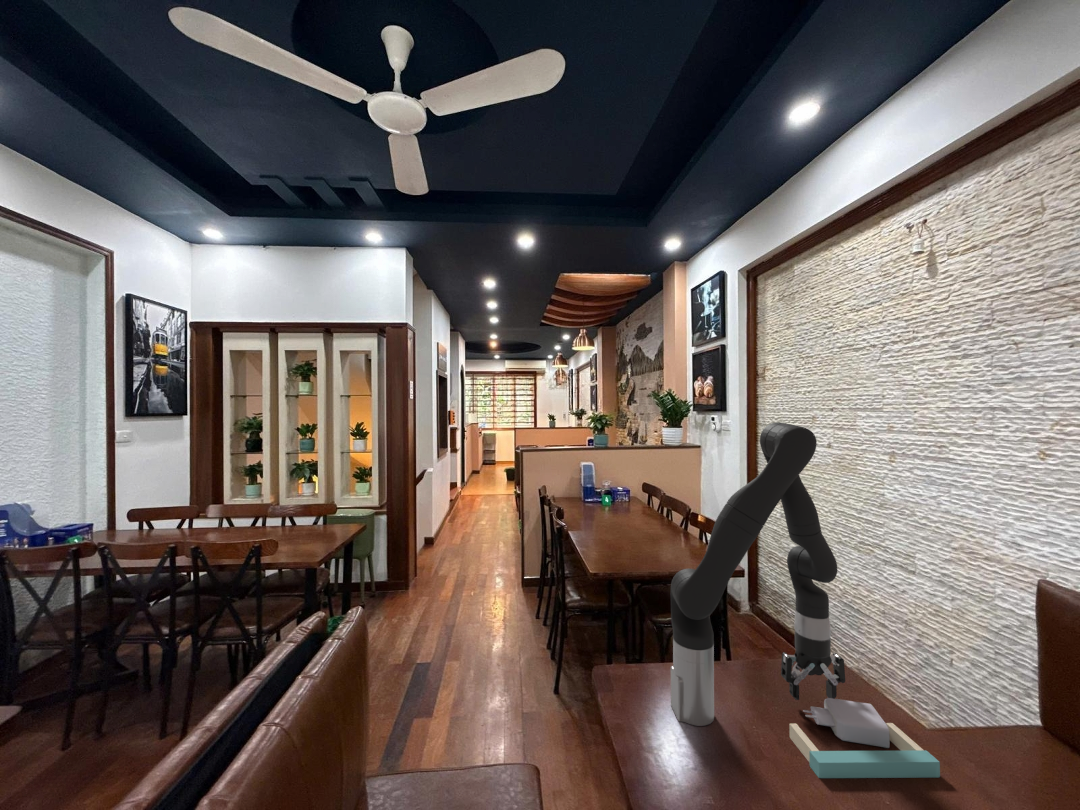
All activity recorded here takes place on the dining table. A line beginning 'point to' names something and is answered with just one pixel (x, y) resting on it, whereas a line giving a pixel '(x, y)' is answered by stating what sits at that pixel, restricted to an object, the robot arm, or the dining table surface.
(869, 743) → the charger
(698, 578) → the robot arm
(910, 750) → the stop bay
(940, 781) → the dining table surface
